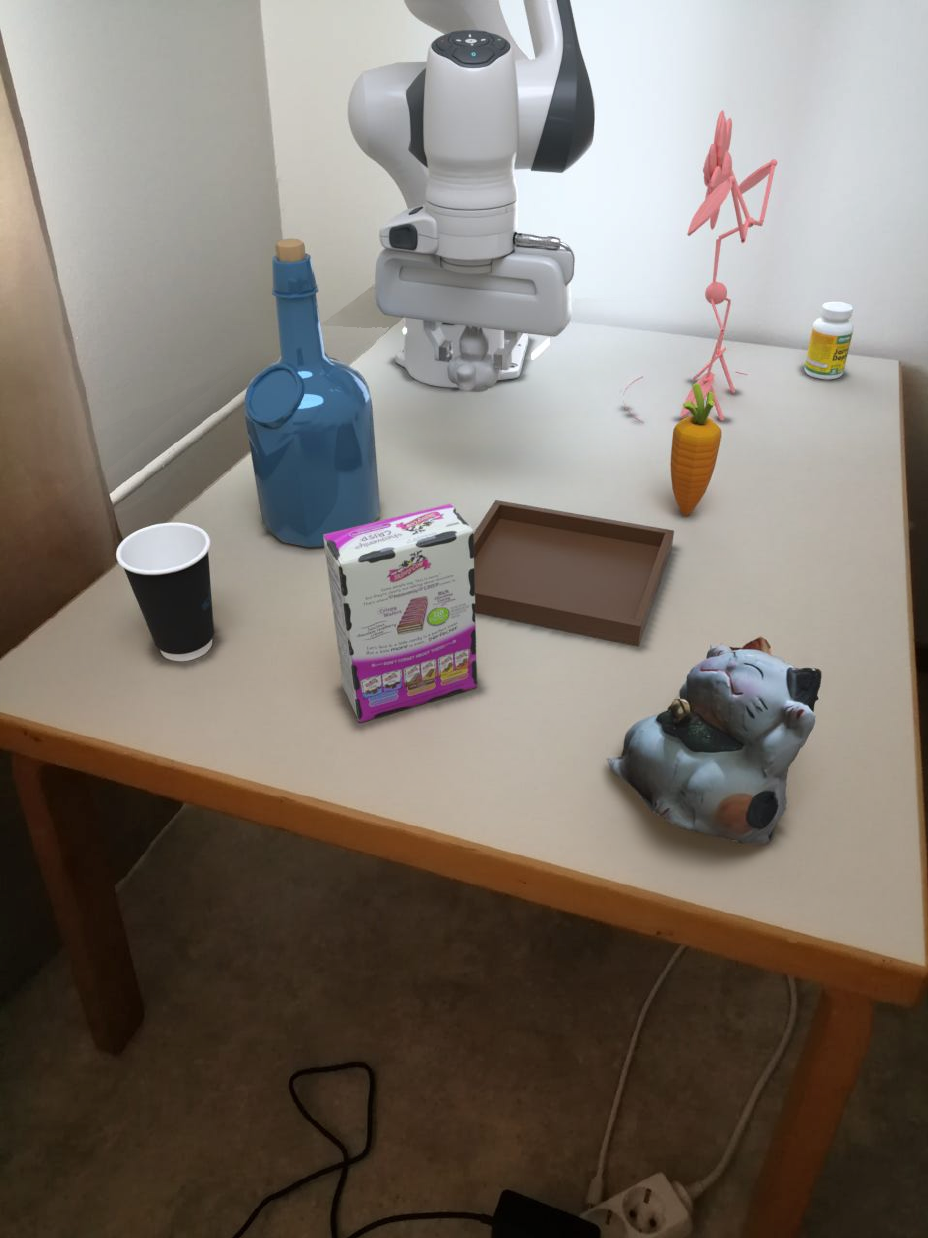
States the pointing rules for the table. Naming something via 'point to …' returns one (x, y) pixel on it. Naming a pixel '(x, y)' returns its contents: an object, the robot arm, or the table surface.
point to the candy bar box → (404, 609)
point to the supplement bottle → (830, 341)
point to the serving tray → (568, 570)
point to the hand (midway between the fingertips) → (472, 363)
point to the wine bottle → (309, 421)
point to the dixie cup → (172, 586)
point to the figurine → (723, 235)
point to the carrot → (694, 452)
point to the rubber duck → (473, 362)
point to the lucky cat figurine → (724, 744)
